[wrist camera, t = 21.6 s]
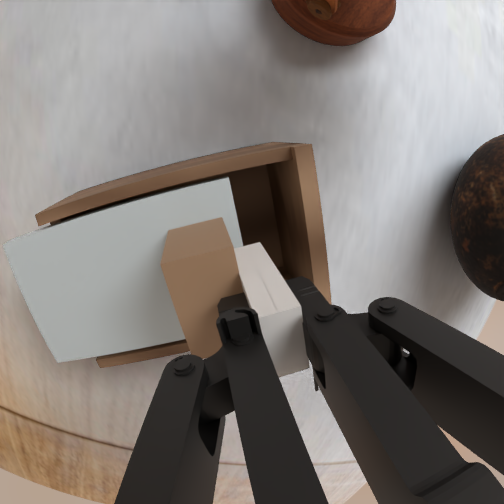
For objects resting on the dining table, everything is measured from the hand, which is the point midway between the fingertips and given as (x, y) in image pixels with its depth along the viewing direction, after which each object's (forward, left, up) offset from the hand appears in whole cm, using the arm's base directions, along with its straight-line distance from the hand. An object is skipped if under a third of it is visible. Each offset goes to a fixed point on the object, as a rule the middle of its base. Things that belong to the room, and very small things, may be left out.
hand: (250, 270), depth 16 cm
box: (0, -3, -10) cm, 11 cm away
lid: (0, -7, -3) cm, 8 cm away
